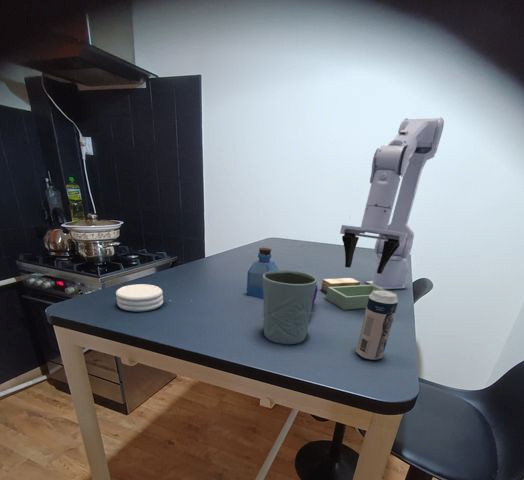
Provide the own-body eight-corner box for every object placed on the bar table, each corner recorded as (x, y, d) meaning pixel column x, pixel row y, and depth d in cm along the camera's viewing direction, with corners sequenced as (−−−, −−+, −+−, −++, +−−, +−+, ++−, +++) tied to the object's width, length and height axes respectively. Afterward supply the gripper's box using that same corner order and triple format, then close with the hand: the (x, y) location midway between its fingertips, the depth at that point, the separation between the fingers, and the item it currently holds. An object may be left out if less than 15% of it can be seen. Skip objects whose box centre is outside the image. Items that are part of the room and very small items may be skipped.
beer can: (383, 363, 56) (402, 299, 51) (356, 359, 57) (371, 295, 52) (380, 351, 61) (397, 290, 55) (355, 347, 61) (369, 287, 56)
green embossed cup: (307, 349, 59) (316, 286, 54) (254, 341, 61) (258, 280, 55) (309, 328, 68) (317, 272, 63) (263, 322, 69) (267, 267, 64)
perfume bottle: (276, 293, 88) (280, 248, 82) (267, 299, 83) (270, 252, 77) (257, 289, 90) (259, 245, 85) (246, 294, 85) (248, 248, 80)
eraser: (349, 288, 97) (351, 277, 95) (357, 293, 93) (360, 282, 92) (320, 290, 93) (322, 279, 92) (328, 295, 90) (330, 283, 88)
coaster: (146, 294, 80) (144, 281, 78) (172, 304, 75) (171, 290, 73) (108, 304, 73) (106, 289, 71) (135, 316, 68) (133, 300, 66)
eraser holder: (370, 295, 92) (372, 284, 91) (390, 305, 85) (393, 294, 84) (325, 298, 87) (327, 287, 85) (344, 309, 80) (346, 297, 78)
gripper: (341, 202, 70) (328, 264, 75) (410, 209, 63) (390, 277, 68) (351, 206, 76) (338, 264, 81) (415, 213, 69) (397, 275, 74)
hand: (363, 270), depth 75 cm, fingers open, 7 cm apart
